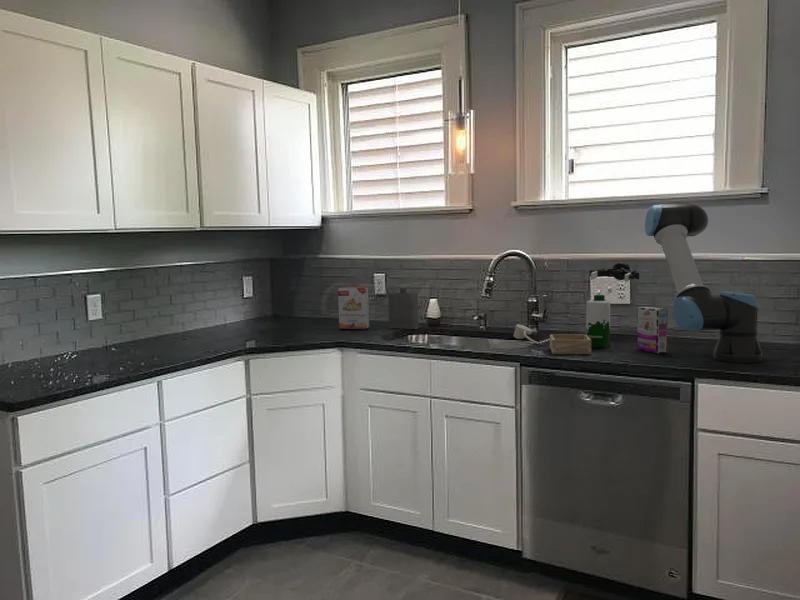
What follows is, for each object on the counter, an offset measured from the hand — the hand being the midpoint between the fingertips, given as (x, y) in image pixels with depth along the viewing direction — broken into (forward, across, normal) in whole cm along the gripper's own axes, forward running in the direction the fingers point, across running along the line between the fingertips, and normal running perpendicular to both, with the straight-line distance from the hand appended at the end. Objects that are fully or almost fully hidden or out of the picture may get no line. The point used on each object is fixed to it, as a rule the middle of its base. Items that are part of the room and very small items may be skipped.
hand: (608, 277), depth 271 cm
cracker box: (+11, +120, -32) cm, 125 cm away
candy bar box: (+13, -21, -25) cm, 35 cm away
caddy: (+26, +6, -25) cm, 37 cm away
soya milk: (+11, 0, -26) cm, 28 cm away
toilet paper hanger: (+4, +31, -28) cm, 42 cm away
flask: (-1, +99, -31) cm, 104 cm away
